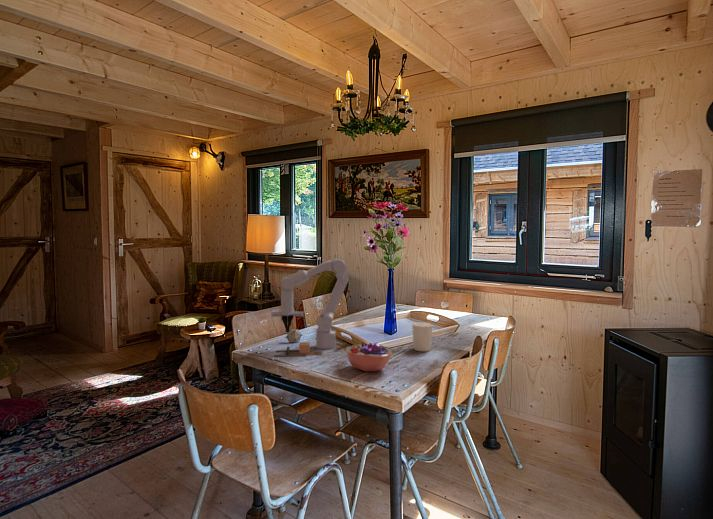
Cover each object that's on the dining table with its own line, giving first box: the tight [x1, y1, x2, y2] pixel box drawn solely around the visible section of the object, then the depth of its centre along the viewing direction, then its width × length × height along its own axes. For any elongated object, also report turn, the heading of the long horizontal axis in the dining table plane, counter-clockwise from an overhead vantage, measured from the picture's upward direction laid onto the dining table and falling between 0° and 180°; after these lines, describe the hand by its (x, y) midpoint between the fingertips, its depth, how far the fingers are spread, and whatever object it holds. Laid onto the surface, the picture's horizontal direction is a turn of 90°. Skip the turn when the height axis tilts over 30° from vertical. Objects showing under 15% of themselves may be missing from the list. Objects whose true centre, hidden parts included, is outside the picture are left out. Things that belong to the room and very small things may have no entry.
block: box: [298, 341, 311, 356], centre depth 195 cm, size 4×4×4 cm
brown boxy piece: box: [285, 346, 323, 357], centre depth 195 cm, size 16×6×4 cm, turn 95°
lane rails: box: [273, 349, 307, 358], centre depth 195 cm, size 14×8×2 cm, turn 95°
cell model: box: [345, 342, 393, 372], centre depth 177 cm, size 17×20×11 cm
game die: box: [284, 327, 302, 344], centre depth 216 cm, size 9×8×10 cm
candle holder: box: [411, 321, 434, 352], centre depth 207 cm, size 10×10×12 cm
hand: (287, 331), depth 202 cm, fingers closed
